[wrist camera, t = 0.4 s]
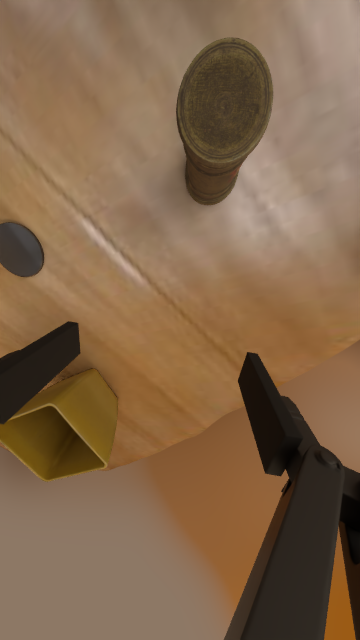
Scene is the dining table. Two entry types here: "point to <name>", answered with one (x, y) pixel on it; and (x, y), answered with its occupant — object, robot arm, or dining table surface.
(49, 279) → the dining table surface
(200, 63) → the container
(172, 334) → the dining table surface
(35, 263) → the coaster
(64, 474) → the flower pot
